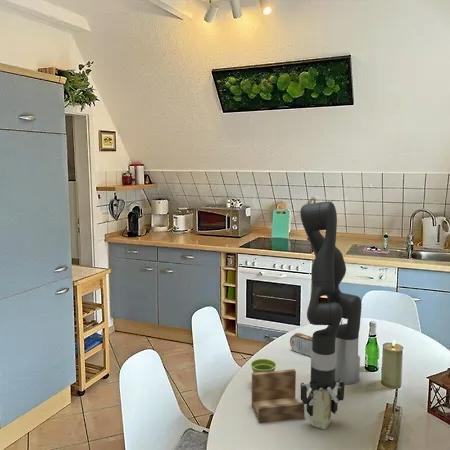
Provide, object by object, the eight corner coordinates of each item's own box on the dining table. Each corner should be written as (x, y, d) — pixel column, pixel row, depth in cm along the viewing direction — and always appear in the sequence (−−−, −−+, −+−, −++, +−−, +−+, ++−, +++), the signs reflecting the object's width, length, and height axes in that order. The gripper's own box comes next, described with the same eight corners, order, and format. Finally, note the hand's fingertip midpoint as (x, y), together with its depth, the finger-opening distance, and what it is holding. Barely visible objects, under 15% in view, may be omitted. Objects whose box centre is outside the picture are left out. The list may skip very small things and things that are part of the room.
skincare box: (324, 430, 143) (325, 393, 142) (311, 426, 146) (312, 389, 144) (331, 420, 149) (332, 384, 147) (318, 416, 151) (319, 381, 149)
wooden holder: (293, 401, 160) (294, 369, 159) (304, 418, 150) (304, 383, 148) (251, 406, 158) (251, 372, 156) (259, 423, 148) (259, 387, 146)
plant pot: (274, 393, 166) (275, 370, 165) (248, 391, 168) (248, 368, 167) (277, 381, 175) (277, 359, 174) (252, 379, 177) (252, 357, 176)
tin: (322, 358, 195) (323, 339, 194) (318, 360, 193) (319, 341, 192) (292, 348, 205) (293, 330, 204) (288, 350, 203) (289, 332, 202)
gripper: (339, 357, 149) (338, 405, 152) (297, 361, 147) (296, 409, 149) (350, 367, 142) (348, 417, 144) (305, 371, 139) (304, 422, 142)
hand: (321, 413), depth 147 cm, fingers closed on skincare box, 7 cm apart
